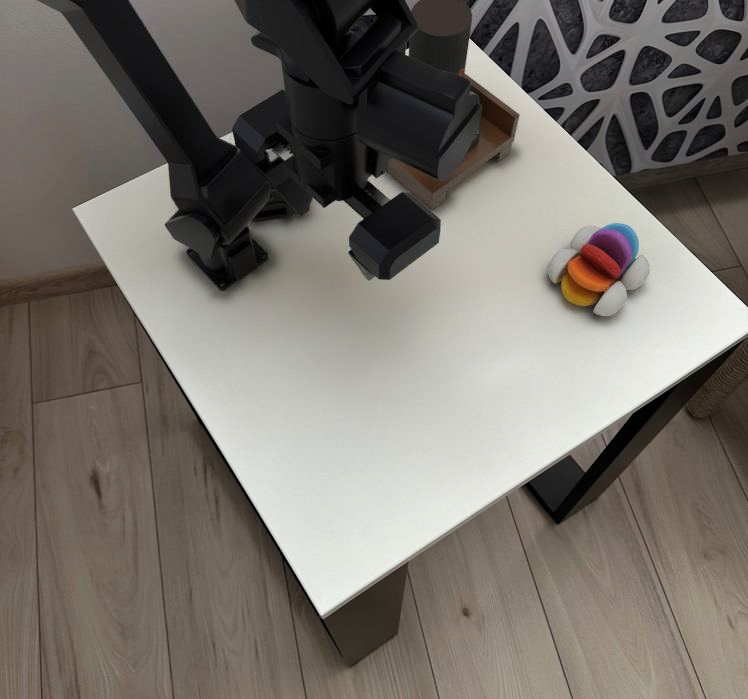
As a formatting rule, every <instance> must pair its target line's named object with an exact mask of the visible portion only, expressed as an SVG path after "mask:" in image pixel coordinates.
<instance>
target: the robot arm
mask: <svg viewBox="0 0 748 699" xmlns="http://www.w3.org/2000/svg"><path fill="white" fill-rule="evenodd" d="M36 1H37V2H39V3H41V4H43V5H45V6H46V7H49V8H50V9H53V10H54V11H57V12H59V13H60V14H61V15H62V16H63V17H64V18H65V20H66V21H67V23H68V24H69V26H70V27H71V28H72V30H73V31H74V33H75V34H76V36H78V38H79V40H80V41H81V42H82V44H83V45H84V47H85V49H87V51H88V52H89V54H90V55H91V57H92V58H93V60H94V61H95V62H96V63H97V65H98V66H99V68H100V70H102V72H103V73H104V75H105V76H106V78H107V79H108V80H109V82H110V83H111V85H112V86H113V87H114V89H115V90H116V92H117V93H118V94H119V96H120V97H121V99H122V101H123V102H124V103H125V105H126V106H127V107H128V109H129V110H130V111H131V113H132V114H133V116H134V117H135V118H136V120H137V121H138V123H139V125H140V126H141V127H142V129H143V130H144V131H145V133H146V135H148V137H149V138H150V140H151V141H152V142H153V144H154V146H155V147H156V148H157V150H158V151H159V152H160V154H161V155H162V156H163V158H164V159H165V161H166V163H167V170H168V180H169V192H170V193H169V194H170V198H171V200H172V201H173V203H174V204H175V206H176V207H177V210H176V211H175V212H174V213H173V214H172V216H171V217H170V218H168V219H167V221H166V222H165V223H164V226H165V228H166V230H167V231H168V233H169V234H170V236H171V238H173V240H175V241H176V242H178V243H180V244H182V245H183V246H185V247H187V249H186V251H185V254H186V256H187V257H188V259H189V260H190V261H191V262H192V263H193V264H194V265H195V266H196V267H197V268H198V269H199V270H200V271H201V272H202V274H204V275H205V277H206V278H207V279H208V280H209V281H210V282H211V283H212V284H213V285H214V286H215V287H216V289H218V290H219V291H225V290H226V289H228V288H229V287H231V286H233V285H234V284H236V282H239V281H241V280H242V279H244V278H245V277H247V276H248V275H249V274H251V273H253V272H254V271H256V270H257V269H258V267H260V266H261V265H263V264H264V263H265V262H267V261H268V260H269V253H268V252H267V251H266V250H265V249H264V248H263V247H262V246H261V245H260V244H259V243H258V242H257V241H256V240H255V239H254V238H253V237H252V235H251V231H250V226H249V224H250V222H252V219H253V218H254V217H255V216H256V215H257V213H258V212H259V211H260V210H261V209H262V208H263V207H264V205H265V204H266V203H267V202H268V201H269V198H270V194H271V193H272V191H271V187H270V184H271V185H272V186H273V187H274V188H275V190H276V191H278V193H279V194H280V195H281V196H282V197H283V198H284V199H285V201H286V202H287V203H288V204H289V205H290V206H291V207H292V208H293V209H294V211H295V212H296V213H297V214H296V215H298V216H299V217H303V216H304V215H306V214H307V213H308V212H310V209H311V203H310V201H311V197H313V199H314V200H315V201H316V202H317V203H318V204H319V205H320V206H321V207H322V208H323V209H325V208H327V207H328V206H329V205H331V204H332V203H334V202H335V201H336V202H344V203H345V204H346V205H348V207H350V209H352V210H353V211H354V212H355V213H356V214H357V215H359V217H361V220H360V221H359V222H358V223H356V225H355V227H354V228H353V230H352V231H351V233H350V235H349V236H348V247H349V249H350V250H349V251H348V252H347V254H348V255H349V257H350V259H351V260H352V261H353V262H354V264H355V265H356V267H357V268H358V269H359V271H360V272H361V274H362V275H363V277H364V278H365V279H366V280H367V281H368V282H371V281H372V280H373V279H374V278H376V279H378V280H379V281H381V280H383V281H390V280H392V279H393V278H394V277H396V276H397V275H399V273H401V272H402V271H404V270H405V269H406V268H408V267H409V266H410V265H412V264H413V263H414V262H416V261H417V260H418V259H420V258H421V257H422V256H424V255H425V254H426V253H427V252H429V251H430V250H431V249H433V248H434V247H435V246H437V245H438V244H439V243H440V236H441V226H442V220H441V218H440V217H438V216H437V215H436V214H435V213H434V212H433V211H432V210H431V209H430V208H429V207H428V206H426V205H425V204H424V203H423V202H422V201H421V200H419V199H418V198H417V197H416V196H415V195H414V194H412V193H411V192H405V191H400V192H399V193H398V194H397V195H395V196H393V197H392V198H391V199H390V198H389V197H388V196H387V195H385V194H384V193H383V192H382V191H381V190H380V189H379V188H378V187H376V186H375V185H374V184H373V183H372V182H370V181H369V178H370V177H374V178H375V179H378V178H380V177H381V176H383V175H384V174H385V173H388V172H387V171H388V160H389V159H395V160H398V161H400V162H402V163H404V164H406V165H408V166H410V167H412V168H414V169H416V170H419V171H421V172H423V173H425V174H427V175H429V176H431V177H433V178H435V179H437V180H440V181H445V180H446V179H448V178H449V177H450V176H451V175H452V174H453V173H454V172H455V170H456V169H457V168H458V166H459V165H460V163H461V162H462V160H463V158H464V156H465V155H466V153H467V151H468V149H469V147H470V145H471V143H472V140H473V138H474V135H475V133H476V130H477V127H478V124H479V121H480V117H481V113H482V105H481V104H480V100H479V96H478V94H475V93H473V92H471V91H470V88H471V82H470V81H469V80H468V79H466V78H464V77H462V76H459V75H457V74H454V73H452V72H447V71H442V70H439V69H437V68H434V67H432V66H430V65H428V64H425V63H423V62H421V61H418V60H416V59H414V58H412V57H409V55H408V54H406V53H407V52H406V50H407V43H409V39H410V38H411V37H412V36H413V35H414V34H415V32H416V31H417V30H418V28H419V27H418V24H417V22H416V20H415V18H414V16H413V14H412V12H411V9H410V7H409V5H408V2H407V0H233V1H234V3H235V4H236V6H237V8H238V10H239V12H240V14H241V15H242V17H243V19H244V21H245V22H246V23H247V24H248V25H249V26H251V27H252V28H253V29H255V30H257V31H256V32H255V33H254V34H253V35H252V36H250V42H251V44H252V45H253V47H255V48H256V49H260V50H262V51H264V52H266V53H268V54H270V55H273V56H274V57H276V58H278V59H279V60H280V62H281V72H282V79H283V86H284V87H283V88H281V89H280V90H278V91H275V92H274V93H273V94H271V95H269V96H268V97H266V98H265V99H263V100H261V101H260V102H258V103H256V104H254V105H253V106H252V107H250V108H248V109H246V110H245V111H243V112H241V113H240V114H238V115H237V117H236V119H235V121H234V123H233V125H232V128H231V131H232V136H233V141H234V144H233V143H231V142H228V141H226V140H225V139H222V138H220V137H219V136H217V135H216V133H215V131H213V129H212V128H211V125H210V124H209V123H208V121H207V120H206V118H205V117H204V115H203V114H202V112H201V110H200V109H199V107H198V105H197V104H196V102H195V101H194V99H193V98H192V96H191V94H190V93H189V91H188V89H187V88H186V87H185V85H184V84H183V82H182V81H181V79H180V77H179V75H178V74H177V73H176V71H175V69H174V68H173V66H172V64H171V63H170V62H169V60H168V59H167V57H166V56H165V54H164V52H163V51H162V49H161V48H160V46H159V45H158V43H157V42H156V39H155V38H154V36H153V35H152V34H151V31H150V30H149V28H148V27H147V26H146V24H145V22H144V21H143V19H142V18H141V17H140V15H139V13H138V12H137V10H136V8H135V7H134V5H133V4H132V2H131V1H130V0H36ZM369 10H371V11H372V12H373V13H374V15H375V16H376V17H377V18H376V20H374V22H373V23H372V24H371V25H370V26H369V27H368V28H367V30H365V31H364V33H362V35H361V36H358V35H357V34H355V32H354V31H352V30H351V29H352V28H353V27H354V26H355V25H356V24H357V23H358V22H359V21H360V20H361V19H362V18H363V16H365V14H366V13H367V12H368V11H369ZM269 183H270V184H269ZM311 202H312V201H311Z"/></svg>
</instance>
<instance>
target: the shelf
mask: <svg viewBox="0 0 748 699" xmlns="http://www.w3.org/2000/svg"><path fill="white" fill-rule="evenodd" d="M464 78H466V79H468V80H469V81H470V82H471V88H470V91H471V92H473V93H475V94H478V96H479V100H480V104H481V105H482V113H481V117H480V121H479V124H478V127H477V130H476V133H475V135H474V138H473V140H472V143H471V145H470V147H469V149H468V151H467V153H466V155H465V156H464V158H463V160H462V162H461V163H460V165H459V166H458V168H457V169H456V170H455V172H454V173H453V174H452V175H451V176H450V177H449V178H448V179H446V180H445V181H440V180H437V179H435V178H433V177H431V176H429V175H427V174H425V173H423V172H421V171H419V170H416V169H414V168H412V167H410V166H408V165H406V164H404V163H402V162H400V161H398V160H395V159H389V160H388V171H387V172H386V173H388V174H389V175H390V176H391V177H393V179H395V180H396V181H397V182H398V183H400V184H401V185H402V186H403V187H404V188H405V189H406V190H408V191H409V193H410V194H411V195H413V196H414V197H415V198H416V199H417V200H418V201H420V202H421V203H422V204H423V205H424V206H425V207H427V208H428V209H429V210H430V211H433V210H435V209H436V208H438V207H440V205H442V204H443V203H445V202H446V196H447V191H448V190H449V189H451V188H452V187H453V186H455V185H456V184H458V183H459V182H461V181H462V180H463V179H464V178H466V177H468V175H471V173H473V172H474V171H476V170H477V169H478V168H480V167H482V165H484V164H485V163H486V162H488V161H489V160H491V159H492V158H493V159H494V160H495V161H497V162H500V161H502V160H503V159H504V158H506V157H507V156H508V155H510V154H511V150H512V145H513V143H514V142H515V139H516V133H517V130H518V124H519V120H520V116H521V114H520V113H519V112H517V111H516V110H514V109H513V108H512V107H511V106H509V105H508V104H507V103H505V102H504V101H502V100H501V99H500V98H498V97H497V96H496V95H494V94H493V93H492V92H490V91H489V90H488V89H487V88H485V87H484V86H482V85H481V84H480V83H479V82H477V81H476V80H474V79H473V78H472V77H471V76H470V75H468V74H467V73H464Z"/></svg>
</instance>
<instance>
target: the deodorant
mask: <svg viewBox="0 0 748 699" xmlns="http://www.w3.org/2000/svg"><path fill="white" fill-rule="evenodd" d="M410 11H411V12H412V14H413V16H414V18H415V20H416V22H417V24H418V27H419V28H418V30H417V31H416V32H415V34H414V35H413V36H412V37H411V38H410V39H409V40H408V56H409V57H412V58H414V59H416V60H418V61H421V62H423V63H425V64H428V65H430V66H432V67H434V68H437V69H439V70H442V71H447V72H452V73H454V74H457V75H459V76H462V77H464V73H465V72H466V65H467V58H468V52H469V44H470V36H471V31H472V30H471V29H472V23H473V13H472V9H471V8H470V7H469V5H468V4H467V3H466V2H464V1H463V0H418V1H417V2H416V3H415V4H414V5H413V6H412V9H410ZM465 74H466V73H465Z"/></svg>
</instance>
